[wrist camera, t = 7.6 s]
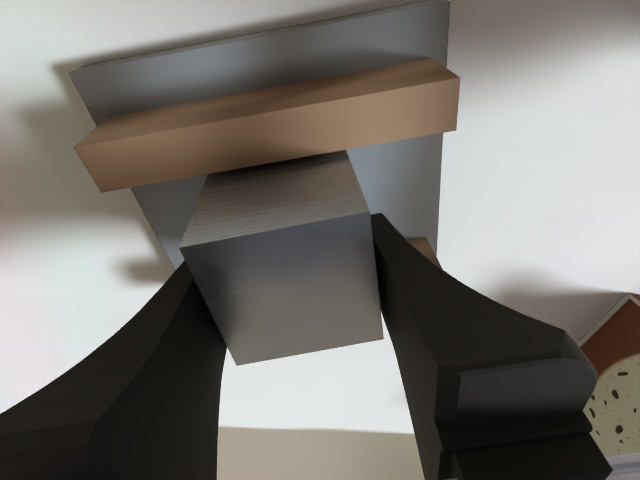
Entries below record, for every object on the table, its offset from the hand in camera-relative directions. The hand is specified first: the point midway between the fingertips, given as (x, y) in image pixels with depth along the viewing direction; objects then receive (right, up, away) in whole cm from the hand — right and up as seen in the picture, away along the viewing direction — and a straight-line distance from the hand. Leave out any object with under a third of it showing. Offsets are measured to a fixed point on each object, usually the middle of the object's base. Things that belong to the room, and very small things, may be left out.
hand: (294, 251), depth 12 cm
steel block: (0, +2, +2) cm, 3 cm away
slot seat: (0, +3, +3) cm, 4 cm away
